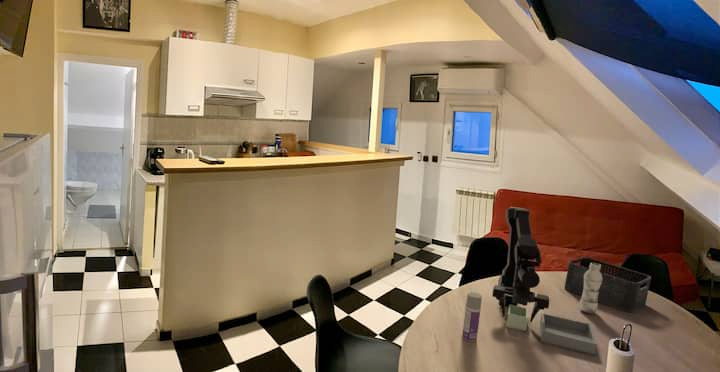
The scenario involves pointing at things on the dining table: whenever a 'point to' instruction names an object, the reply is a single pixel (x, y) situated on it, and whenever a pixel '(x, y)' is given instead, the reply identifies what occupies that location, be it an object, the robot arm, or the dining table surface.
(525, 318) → the small crate
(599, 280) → the plastic bottle
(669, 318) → the dining table surface
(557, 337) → the large crate
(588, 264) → the storage bin
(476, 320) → the container
